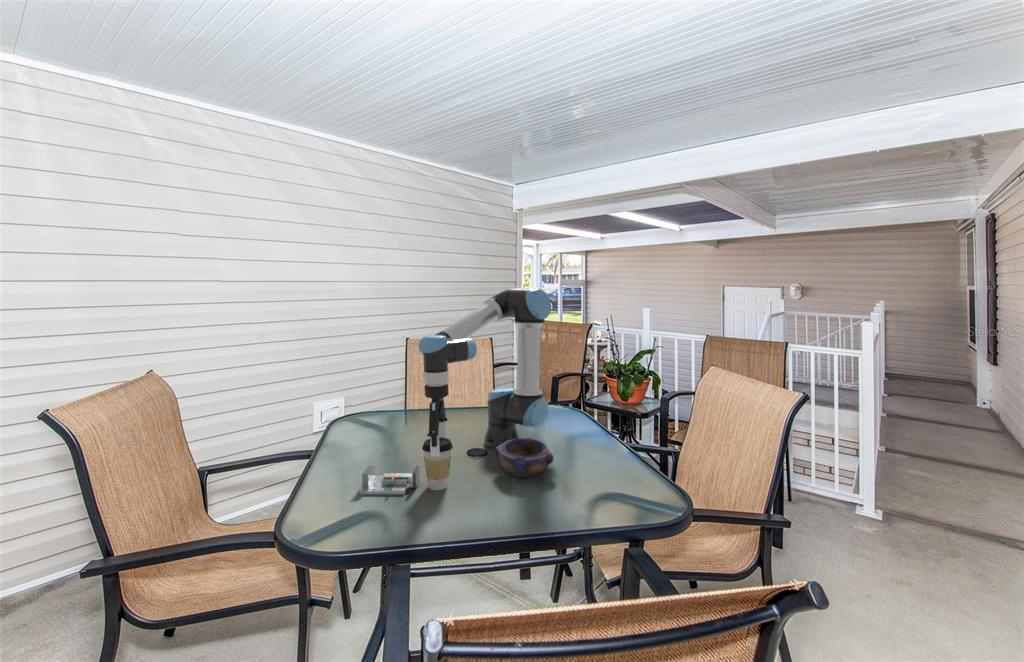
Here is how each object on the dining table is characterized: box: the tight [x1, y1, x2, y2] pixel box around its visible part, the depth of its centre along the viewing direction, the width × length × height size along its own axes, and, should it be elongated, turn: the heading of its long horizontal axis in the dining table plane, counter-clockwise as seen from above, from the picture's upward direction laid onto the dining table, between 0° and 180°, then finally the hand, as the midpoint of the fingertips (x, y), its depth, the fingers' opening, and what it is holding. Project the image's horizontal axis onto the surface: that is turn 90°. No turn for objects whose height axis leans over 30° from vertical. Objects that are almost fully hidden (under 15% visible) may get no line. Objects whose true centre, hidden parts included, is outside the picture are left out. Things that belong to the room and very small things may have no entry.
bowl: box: [494, 437, 554, 478], centre depth 161 cm, size 18×18×10 cm
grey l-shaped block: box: [359, 465, 411, 496], centre depth 150 cm, size 14×12×6 cm
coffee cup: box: [421, 438, 454, 491], centre depth 150 cm, size 10×10×15 cm
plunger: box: [382, 465, 420, 489], centre depth 149 cm, size 11×8×5 cm
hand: (438, 448), depth 149 cm, fingers open, 13 cm apart
